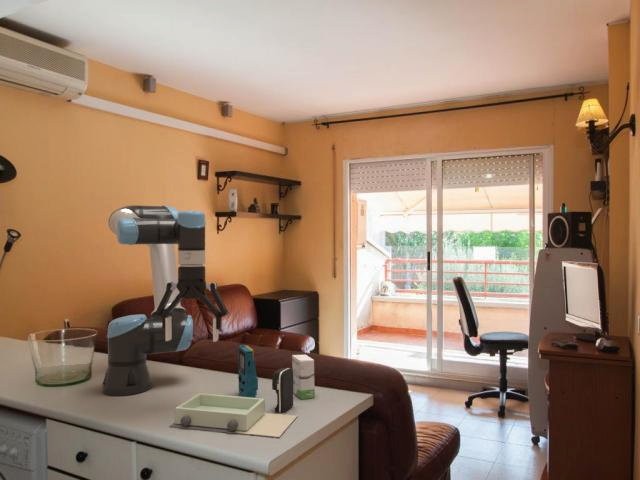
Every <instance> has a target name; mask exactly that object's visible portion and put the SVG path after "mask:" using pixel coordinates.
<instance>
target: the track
mask: <svg viewBox="0 0 640 480" xmlns="http://www.w3.org/2000/svg"><path fill="white" fill-rule="evenodd" d="M296 419H298V415H293V414H291V415H290V414H281V413H270V412H265V414H264V415H263V416H262V417H261V418H259V419H258V420H257V421H256V422H255V423H254V424H253V425H252V426H251V427H250V428H249V429H248V430H247V431H244V430H234V431H230V430H228V429H224V428H214V427H204V426H194V425H188V426H183V425H182V424H175V421H174V422H173V423H171V424H170V425H169V427H170V428H178V429H187V430H194V431H195V430H197V431H204V432H205V431H206V432H217V433H226V434H237V435H244V436H253V437H262V438H263V437H264V438H272V439H273V438H274V439H280V438H281V436H283V434H284V433H285V432H286V431H287V430H288V429H289V428H290V426H291V425H292V424H293V423H294V422H295V421H296Z"/></svg>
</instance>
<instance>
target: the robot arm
mask: <svg viewBox="0 0 640 480" xmlns="http://www.w3.org/2000/svg"><path fill="white" fill-rule="evenodd" d="M206 225H207V222H206V214H205V213H204V212H203V211H201V210H200V211H199V210H181V211H178V210H177V208H176V207H174V206H168V205H135V204H133V205H126V206H121V207H120V208H117V209H115V210H114V211H112V213H110V215H109V218H108V228H109V229H110V231H111V232H112V233H113V234H115V235H116V239H117V242H118V244H121V245H129V246H133V245H146V246H148V247H149V258H150V268H151V279H152V280H151V281H152V290H153V301H154V302H153V303H154V310H153V311H151V313H150V318H147V315H146V314H143V313H142V314H130V315H125V316H121V317H117V318H114V319H113V320H111V321H110V322H109V323H108V325H107V335H106V338H107V369H106V372H105V374H104V378H103V381H102V385H101V391H102V394H105V395H109V396H117V397H118V396H131V395H136V394H141V393H144V392H147V391H148V390H151V389H152V388H153V380H152V375H151V373H150V370H149V367H148V364H147V355H153V354H154V355H155V354H156V355H157V354H163V353H172V352H173V353H177V352H180V351H186V350H188V349H189V348H190V345H191V344H192V340H193V333H194V320H193V317H192V315H189V314H187V309H186V308H184V307H183V306H182V305H181V301H182V300H183V299H187V300H188V299H189V300H190V299H193V300H196V299H199V300H200V301H202V303H203V304H204V305H205V306H206V307H207V309H208V310H209V311H210V312H211V314H212V315H214V317H213V318H212V342H213V343H214V342H215V343H216V342H218V341H219V330H221V329H222V322H223V321H222V318H223V317H225V316H227V315H228V314H229V311H228V309H227V306H226V304H225V302H224V301H223V298H222V297H221V295H220V292H219V291H218V286H217V282H215V281H213V282H211V283H207V282H206V266H204V265H205V264H206ZM175 245H177V260H176V249H175ZM177 264H178V265H180V266H177ZM206 289H208V291H210V293H211V295H212V297H213V300H214V301H215V303H216V305H217V306H216V305H215V303H213V301H212V300H211V299H210V297H209V296H208V294H207V293H206V292H205V291H206Z"/></svg>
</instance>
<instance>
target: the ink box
mask: <svg viewBox="0 0 640 480" xmlns="http://www.w3.org/2000/svg"><path fill="white" fill-rule="evenodd" d="M291 360H292V361H291V362H292V363H291V367H292V368H291V369H292V370H293V394H295V395H296V396H297V397H298V398H299V399H300V400H306V399H315V397H316V395H315V393H316V392H315V387H316V386H315V359H313V358H312V357H310V356H308V355H307V354H292V355H291Z"/></svg>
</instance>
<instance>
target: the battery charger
mask: <svg viewBox="0 0 640 480" xmlns="http://www.w3.org/2000/svg"><path fill="white" fill-rule="evenodd" d="M271 381H272V382H271V389H272V391H275V394H276V395H277V396H276V398H277V403H276V406H275V407H274V411H275V412H277V413H279V414H281V413H285V412H286V411H288V410H289V409H291V408H292V407H294V393H293V370H292V368H290V367H282V368H279V369H278V370H275V371H274V372H273V374H272V380H271Z"/></svg>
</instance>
